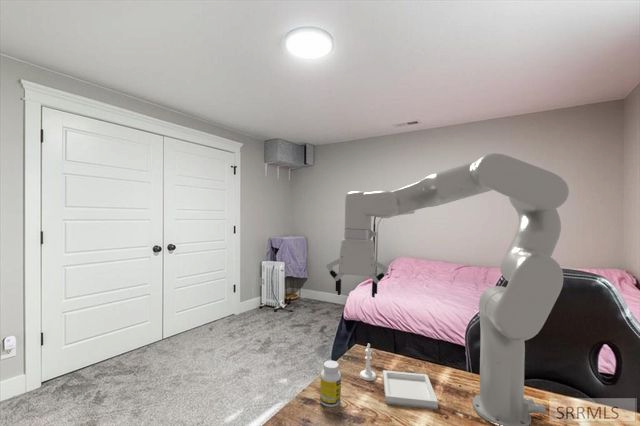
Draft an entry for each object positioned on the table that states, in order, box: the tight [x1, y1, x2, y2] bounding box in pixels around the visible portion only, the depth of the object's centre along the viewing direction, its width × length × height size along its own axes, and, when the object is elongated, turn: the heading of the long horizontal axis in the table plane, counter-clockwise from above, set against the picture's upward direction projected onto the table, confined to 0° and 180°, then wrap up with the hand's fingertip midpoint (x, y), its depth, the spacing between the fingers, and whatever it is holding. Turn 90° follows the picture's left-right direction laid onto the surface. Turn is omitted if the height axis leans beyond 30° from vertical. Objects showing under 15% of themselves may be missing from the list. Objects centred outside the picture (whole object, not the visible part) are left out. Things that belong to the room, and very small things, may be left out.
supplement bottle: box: [319, 360, 342, 408], centre depth 78 cm, size 5×5×10 cm
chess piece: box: [359, 343, 377, 382], centre depth 91 cm, size 5×5×10 cm
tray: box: [382, 369, 439, 410], centre depth 83 cm, size 13×13×2 cm
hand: (356, 295), depth 84 cm, fingers open, 9 cm apart
